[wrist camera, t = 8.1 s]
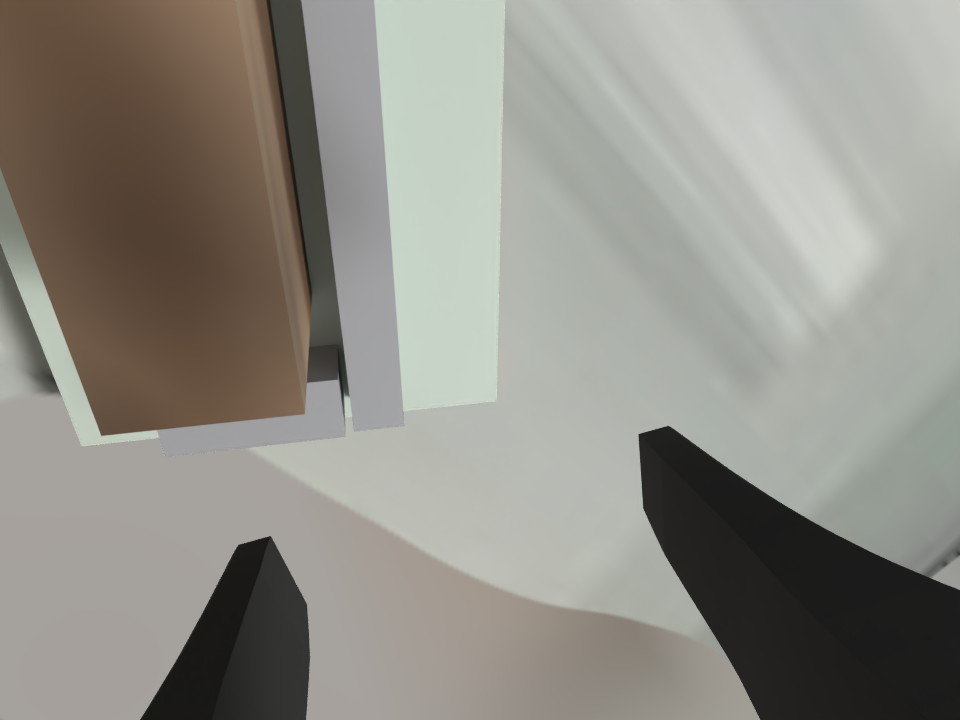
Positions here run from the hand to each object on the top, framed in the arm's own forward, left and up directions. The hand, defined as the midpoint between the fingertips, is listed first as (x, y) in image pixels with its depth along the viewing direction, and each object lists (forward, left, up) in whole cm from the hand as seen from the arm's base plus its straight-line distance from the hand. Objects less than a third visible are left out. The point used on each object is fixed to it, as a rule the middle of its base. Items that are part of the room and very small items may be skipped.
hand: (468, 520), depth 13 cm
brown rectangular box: (+5, -6, -9) cm, 11 cm away
